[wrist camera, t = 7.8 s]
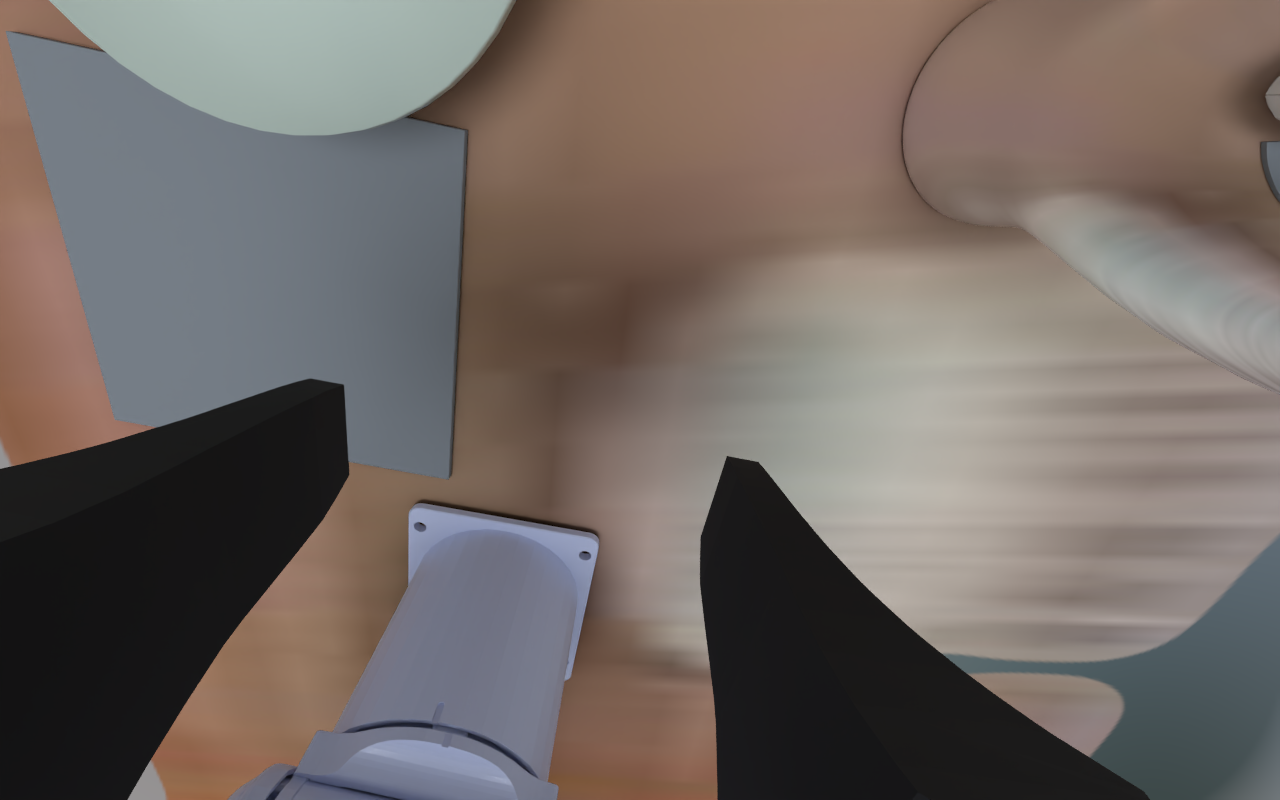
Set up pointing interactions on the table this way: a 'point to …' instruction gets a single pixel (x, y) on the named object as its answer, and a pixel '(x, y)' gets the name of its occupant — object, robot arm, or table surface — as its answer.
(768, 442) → the table surface
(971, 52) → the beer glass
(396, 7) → the lid
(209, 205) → the mat
